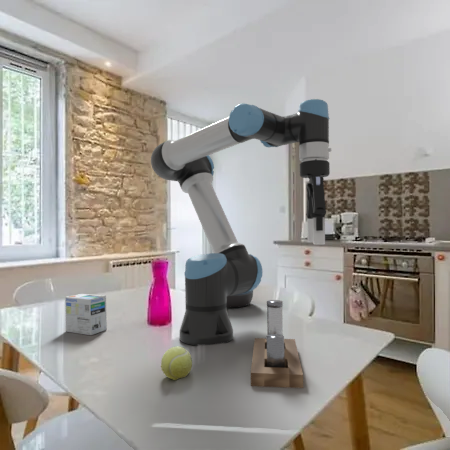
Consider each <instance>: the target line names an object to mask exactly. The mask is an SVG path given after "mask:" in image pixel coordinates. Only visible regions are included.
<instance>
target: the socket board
mask: <svg viewBox="0 0 450 450" xmlns="http://www.w3.org/2000/svg"><path fill="white" fill-rule="evenodd" d="M253 342H254V343H253V348H252V349H253V351H252V358H251V359H252V360H251V366H250V387H266V388H267V387H269V388H288V389H289V388H290V389H291V388H294V389H304V373H303V368H302V364H301V360H300V355H299V352H298V347H297V342H296V339H295V338H284V358H285V368H275V367H267V340H266V337H265V338H264V337H262V338H260V337H255V338H254V341H253Z"/></svg>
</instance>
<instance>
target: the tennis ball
mask: <svg viewBox="0 0 450 450" xmlns="http://www.w3.org/2000/svg"><path fill="white" fill-rule="evenodd" d="M192 367H193V358H192V355H191V354H190V351H188V350H187V349H186V348H184V347H183V346H172V347H170V348H168V349H167V350H166V351H165V352H164V354H163V355H162V357H161V360H160V369H161V371H162V373H163V374H164V376H166V377H167V378H168V379H171V380H174V381H178V379H183V378H185V377H187V376H188V374H190V372H191V370H192Z"/></svg>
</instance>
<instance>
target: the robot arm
mask: <svg viewBox="0 0 450 450" xmlns="http://www.w3.org/2000/svg"><path fill="white" fill-rule="evenodd" d="M297 110H298V111H297V113H293V114H290V115H285V116H281V115H279V114H276V113H273V112H272V111H268V110H265V109H262V108H261V107H259V106H256V105H254V104H248V103H245V102H243V103H239V104H236V105H235V106H234V108H233V109H232V110H231V112H230V113H229V116H228V117H225V118H224V119H221V120H219V121H217V122H215V123H212V124H210V125H208V126H205V127H203V128H201V129H199V130H196V131H194V132H192V133H190V134H188V135H185V136H183V137H180V138H179V139H168V140H166V141H164V142H162V143H160V144H158V145H156V147H155V148H154V150H152V153H151V157H150V165H151V168H152V170H153V172H154V173H155V174H156V175H157V176H158V177H159V178H161V179H163V180H165V181H170V182H171V181H172V182H178V184H179V186H180V189H181V190H182V192H183V193H185V194H188V196H189V198H190V201H191V204H192V206H193V208H194V211H195V213H196V215H197V217H198V220H199V222H200V224H201V227H202V229H203V231H204V234H205V237H206V239H207V241H208V243H209V246H210V248H211V251H212V252H211V253H206V254H205V253H204V254H197V255H194V256H191V257H189V258H188V259H187V260H186V261H185V266H184V267H185V270H184V285H185V287H184V288H185V289H184V290H185V297H184V298H185V302H184V303H185V312H184V315H183V318H182V321H181V324H180V329H179V340H180V341H181V342H182V343H184V344H186V345H191V346H196V347H197V346H200V345H201V346H213V345H218V344H226V343H229V342H231V341H232V340H233V339H234V329H233V324H232V322H231V319H230V317H229V314H228V308H227V296H232V295H236V294H243V293H247V292H249V291H252V290H253V291H254V290H255V289H257V287H259V285H260V284H261V282H262V277H263V272H264V271H263V266H262V263H261V261H260V260H259V258H258V257H257V256H255V255H253V254H251V253H250V254H249V252H248V250H247V247H246V245H245V244H243V243H240V242H238V240H237V237H236V235H235V233H234V230H233V228H232V226H231V224H230V222H229V219H228V218H227V217H228V216H227V215H226V214H225V211H224V208H223V207H222V205H221V202H220V200H219V198H218V196H217V193H216V191H215V189H214V187H213V185H212V183H213V181H214V173H215V172H214V169H215V166H214V161H213V158H212V157H211V156H210V155H212V154H215V153H218V152H220V151H223V150H226V149H228V148H230V147H231V148H232V147H234V146H236V145H239V144H242V143H246V142H248V141H250V140H253V139H254V140H257V141H260V143H261V144H262V145H263V146H264V147H266V148H278V147H282V146H286V145H291V144H296V143H299V145H298V146H299V148H298V150H299V152H298V153H299V155H298V156H299V157H298V158H299V159H298V160H299V161H300V164H299V176H300V177H301V178H303V179H308V180H309V181H308V182H307V183H306V188H305V189H306V214H305V215H306V218H307V219H306V220H307V223H306V225H307V226H306V227H307V228H306V229H307V243H313V245H314V246H315V245H317V246H319V245H321V246H322V245H326V225H325V224H326V223H325V221H326V220H325V217H326V213H327V209H326V207H327V206H326V198H325V189H324V188H325V187H324V186H325V185H324V178H326V177H329V176H330V172H331V170H330V161H328V160H329V159H330V153H331V152H332V148H331V147H329V146H330V139H329V137H330V135H329V134H330V132H329V131H330V126H329V125H330V122H329V121H330V116H329V115H330V114H329V105H328V103H327V102H326V101H325V100H323V99H320V98H316V99H315V98H312V99H311V98H310V99H307V100H303V101H302V102H300V104H299V105H298V109H297Z"/></svg>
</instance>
